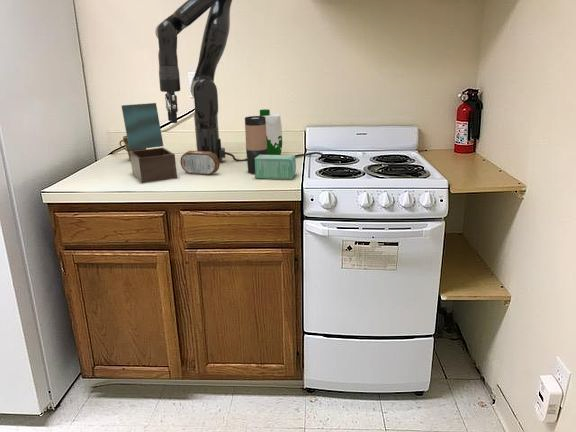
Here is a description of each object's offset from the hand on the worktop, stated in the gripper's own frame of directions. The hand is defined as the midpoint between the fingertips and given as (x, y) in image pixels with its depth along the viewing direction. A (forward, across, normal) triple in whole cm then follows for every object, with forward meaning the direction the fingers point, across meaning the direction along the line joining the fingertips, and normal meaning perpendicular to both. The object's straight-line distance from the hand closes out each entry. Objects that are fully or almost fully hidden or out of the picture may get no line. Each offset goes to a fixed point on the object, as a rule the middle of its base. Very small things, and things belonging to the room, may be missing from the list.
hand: (172, 121), depth 192 cm
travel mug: (+17, -23, -27) cm, 39 cm away
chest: (+18, -13, +10) cm, 24 cm away
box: (+18, -34, -30) cm, 49 cm away
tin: (+18, -17, -6) cm, 26 cm away
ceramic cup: (+18, +21, +14) cm, 31 cm away
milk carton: (+17, -4, -39) cm, 42 cm away
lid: (+1, -4, +11) cm, 12 cm away
